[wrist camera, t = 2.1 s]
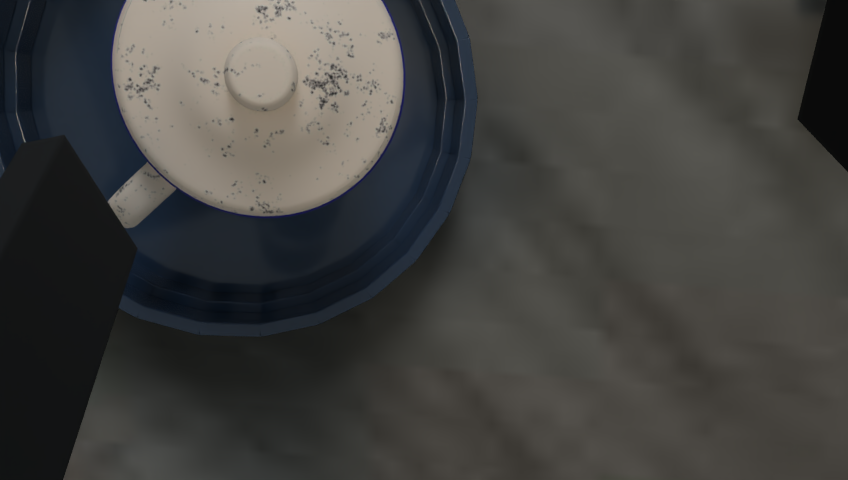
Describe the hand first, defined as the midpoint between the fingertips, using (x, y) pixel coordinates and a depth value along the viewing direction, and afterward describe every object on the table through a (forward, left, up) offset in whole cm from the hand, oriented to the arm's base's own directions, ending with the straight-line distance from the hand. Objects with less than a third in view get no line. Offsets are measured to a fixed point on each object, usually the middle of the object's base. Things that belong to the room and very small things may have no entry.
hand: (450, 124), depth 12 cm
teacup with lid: (-4, -2, -19) cm, 20 cm away
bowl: (-4, -2, -19) cm, 20 cm away
